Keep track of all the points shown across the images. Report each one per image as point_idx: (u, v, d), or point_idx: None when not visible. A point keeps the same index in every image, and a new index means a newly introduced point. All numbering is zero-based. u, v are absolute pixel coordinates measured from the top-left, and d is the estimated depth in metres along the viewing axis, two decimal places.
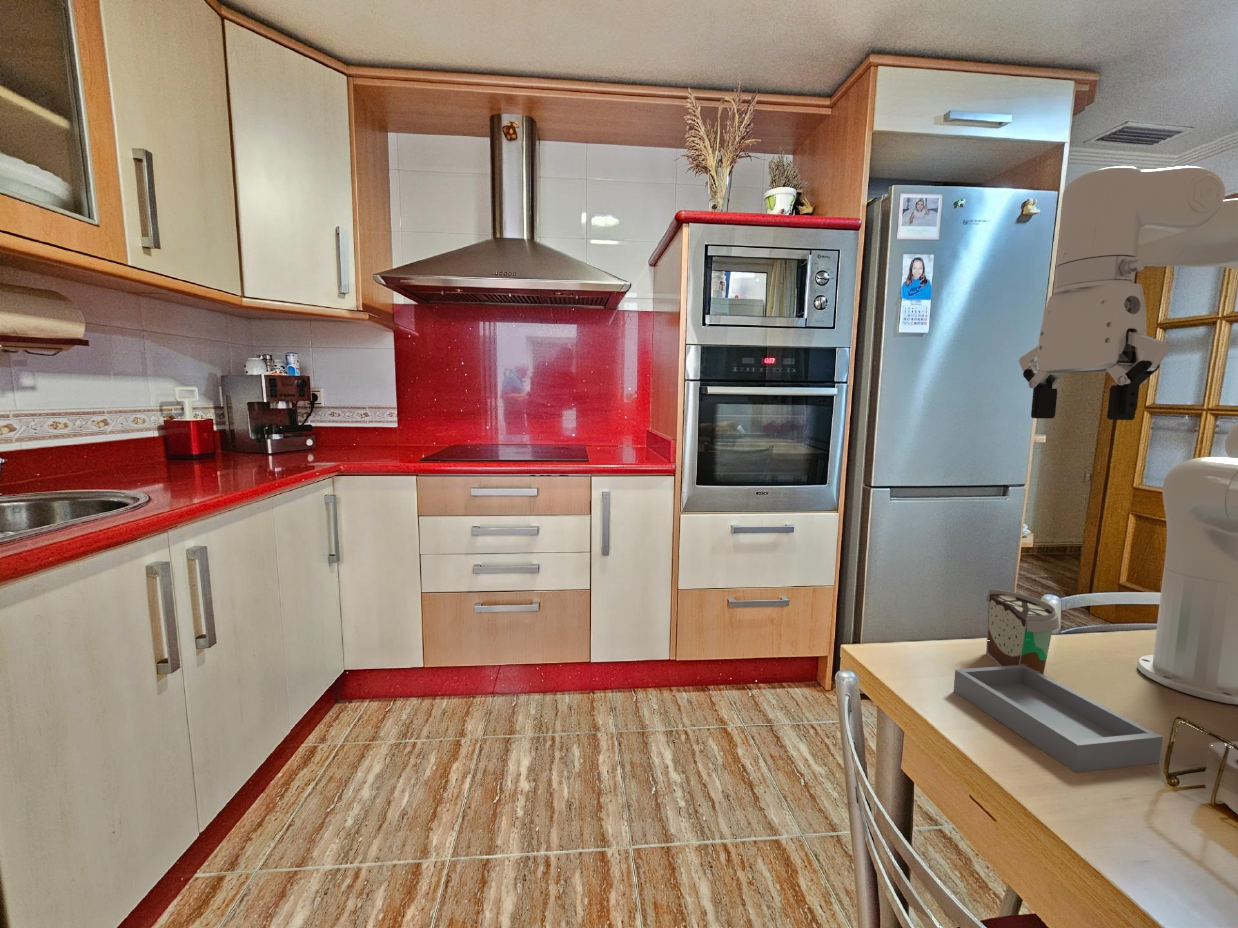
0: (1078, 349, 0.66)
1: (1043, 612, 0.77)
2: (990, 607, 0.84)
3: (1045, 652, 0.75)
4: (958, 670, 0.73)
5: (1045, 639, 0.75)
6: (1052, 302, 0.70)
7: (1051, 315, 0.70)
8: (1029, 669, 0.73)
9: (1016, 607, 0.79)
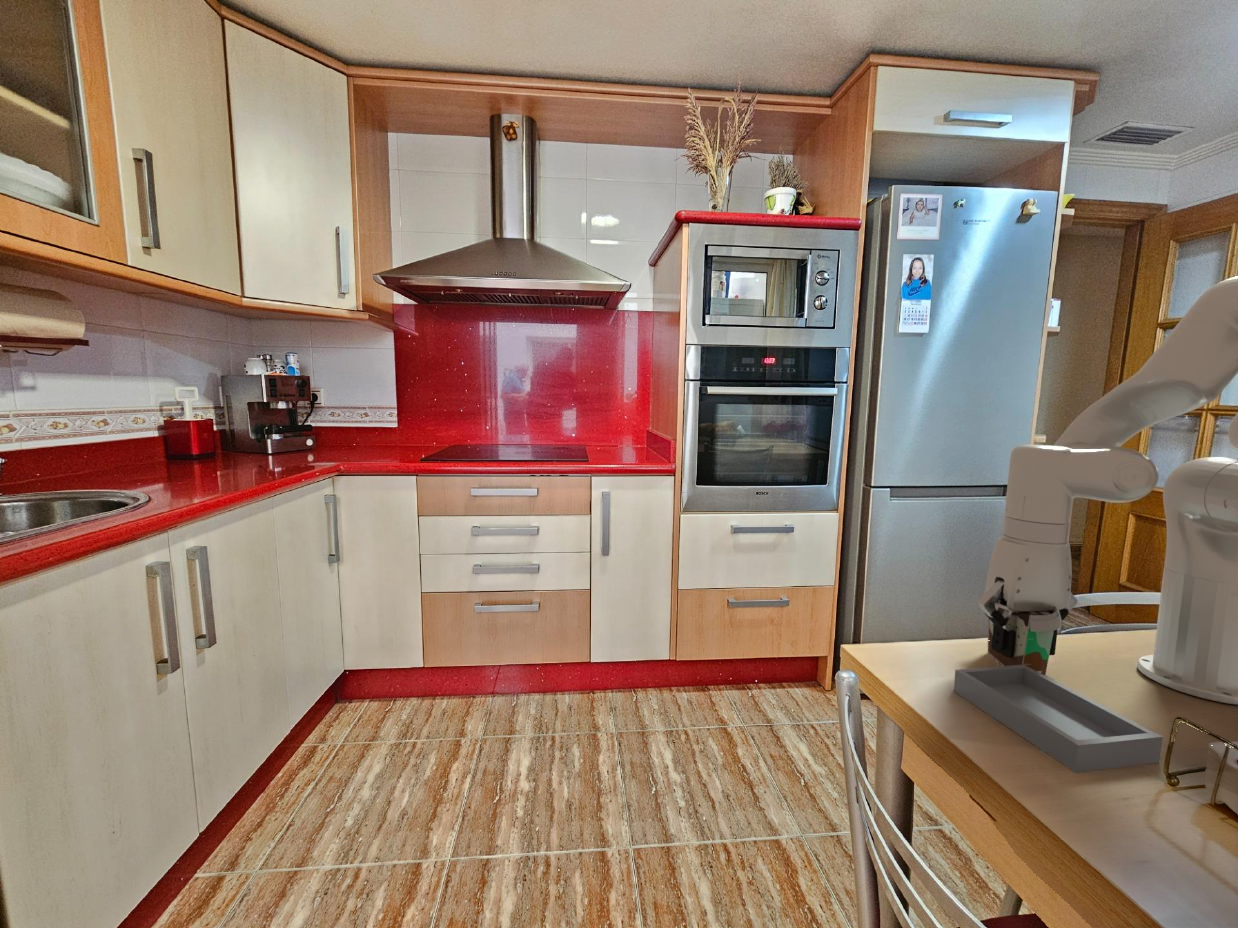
0: (1050, 595, 0.76)
1: (1045, 612, 0.77)
2: None
3: (1047, 651, 0.76)
4: (958, 670, 0.73)
5: (1048, 638, 0.75)
6: (1029, 551, 0.75)
7: (1029, 563, 0.75)
8: (1029, 669, 0.73)
9: None
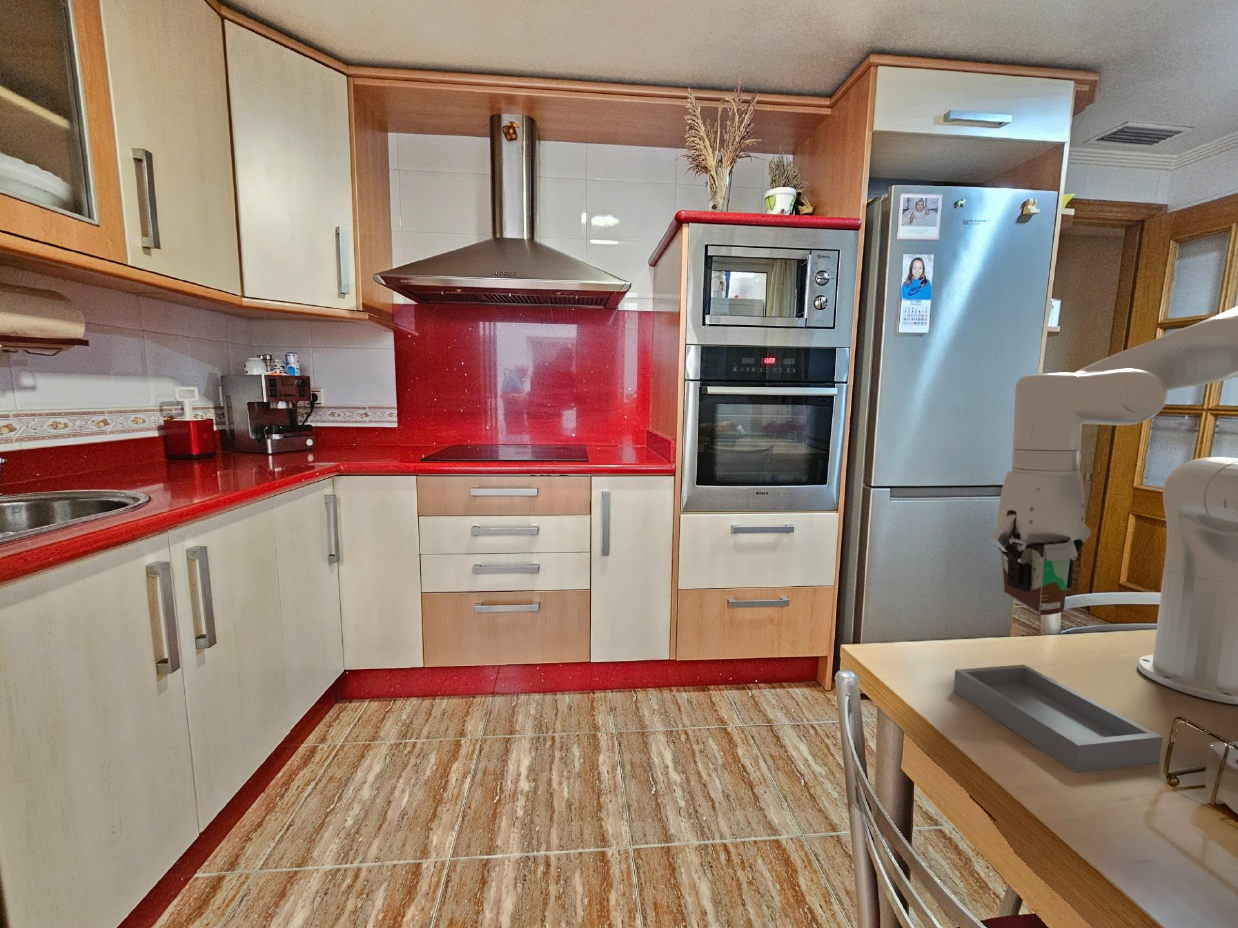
0: (1063, 525, 0.75)
1: (1059, 543, 0.76)
2: None
3: (1065, 582, 0.74)
4: (958, 670, 0.73)
5: (1065, 568, 0.74)
6: (1040, 481, 0.74)
7: (1041, 492, 0.74)
8: (1029, 669, 0.73)
9: None
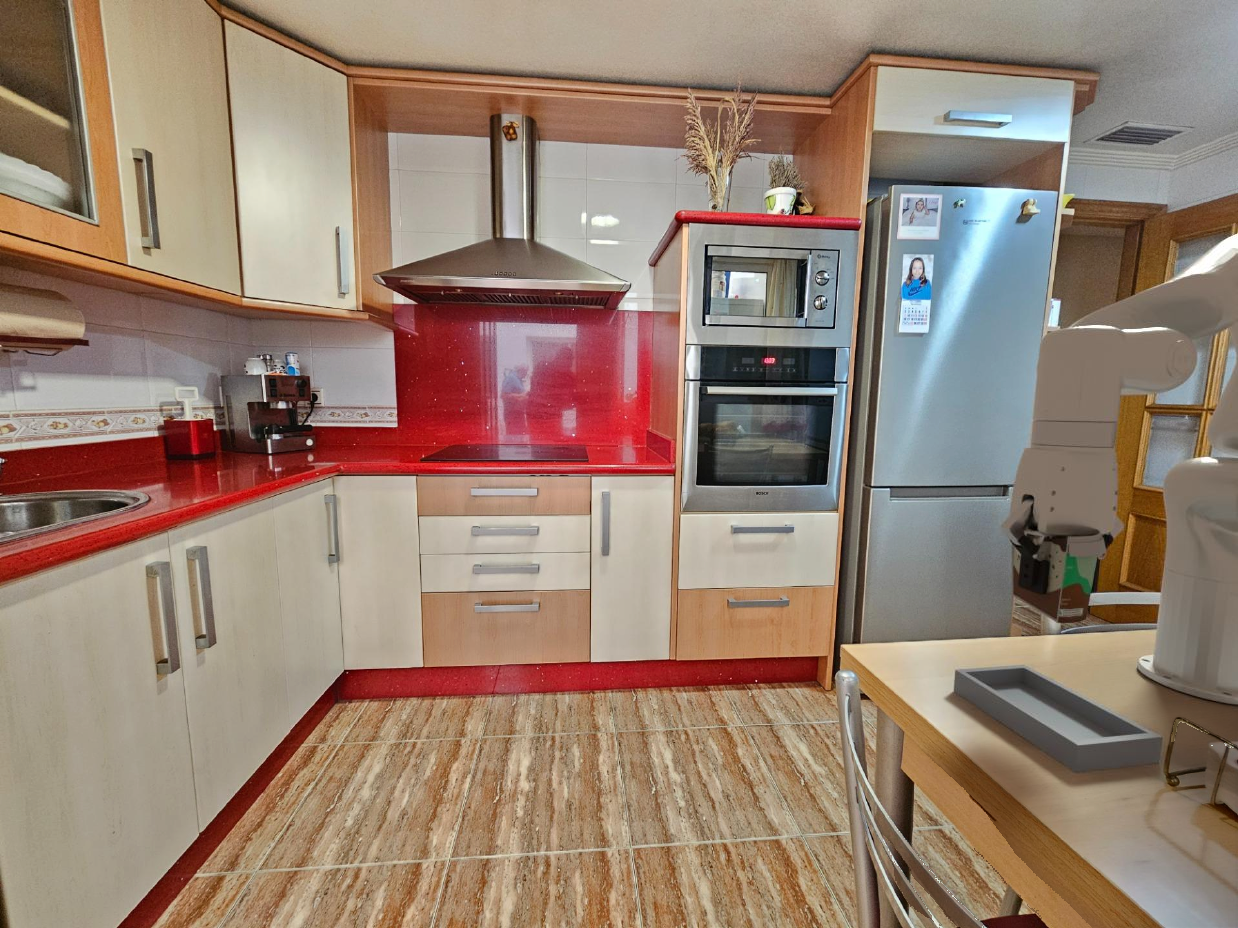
0: (1091, 515, 0.61)
1: None
2: None
3: (1090, 584, 0.61)
4: (958, 670, 0.73)
5: (1091, 566, 0.60)
6: (1065, 459, 0.60)
7: (1066, 473, 0.60)
8: (1029, 669, 0.73)
9: None
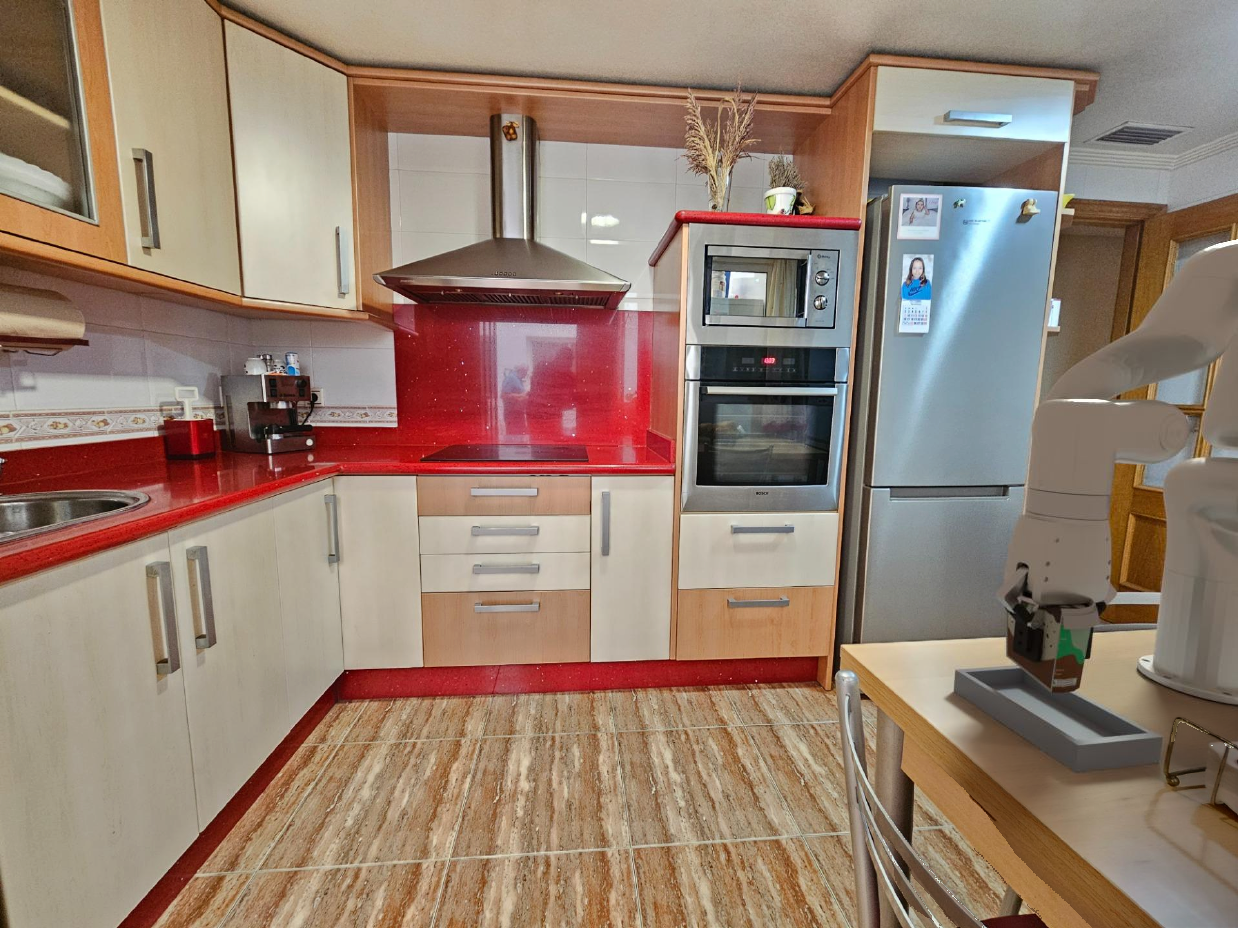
0: (1085, 585, 0.62)
1: None
2: None
3: (1084, 654, 0.61)
4: (958, 670, 0.73)
5: (1085, 637, 0.60)
6: (1059, 530, 0.61)
7: (1060, 544, 0.61)
8: None
9: None
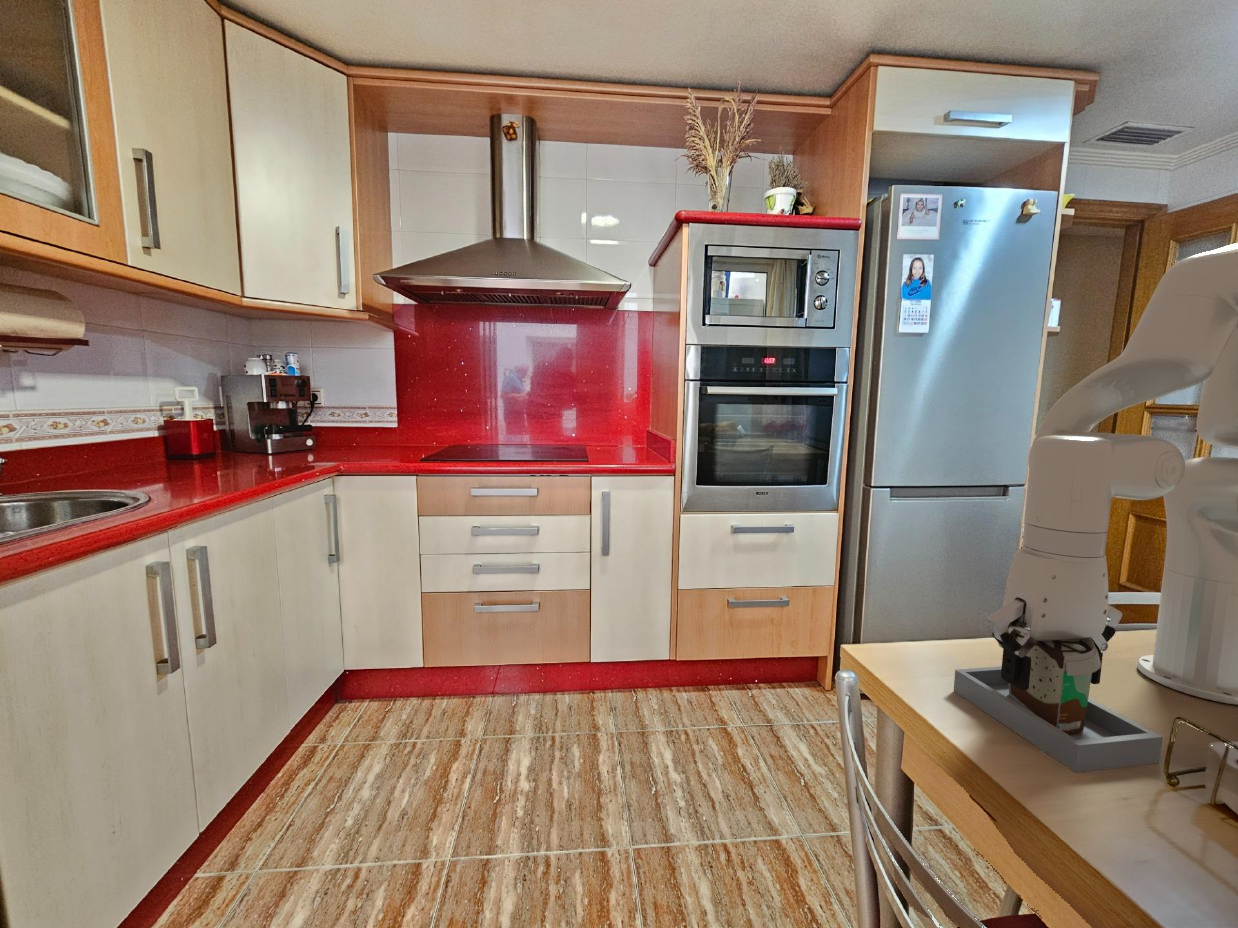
0: (1082, 620, 0.62)
1: (1079, 646, 0.63)
2: None
3: (1087, 696, 0.62)
4: (958, 670, 0.73)
5: (1087, 681, 0.61)
6: (1056, 567, 0.61)
7: (1057, 581, 0.61)
8: None
9: (1046, 641, 0.65)
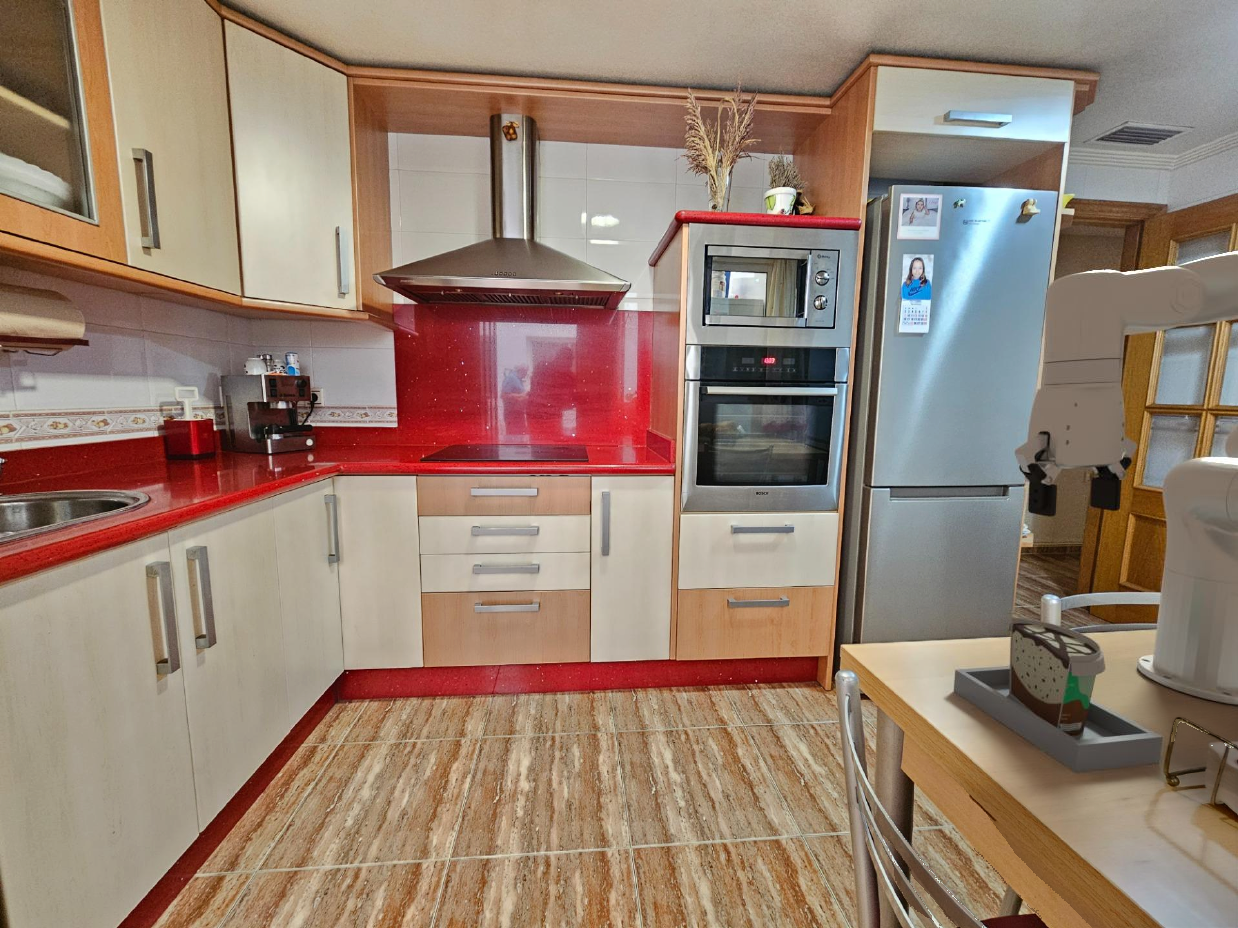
0: (1102, 446, 0.67)
1: (1084, 649, 0.63)
2: (1014, 639, 0.70)
3: (1089, 698, 0.62)
4: (958, 670, 0.73)
5: (1091, 683, 0.61)
6: (1077, 395, 0.65)
7: (1079, 408, 0.65)
8: None
9: (1051, 641, 0.65)
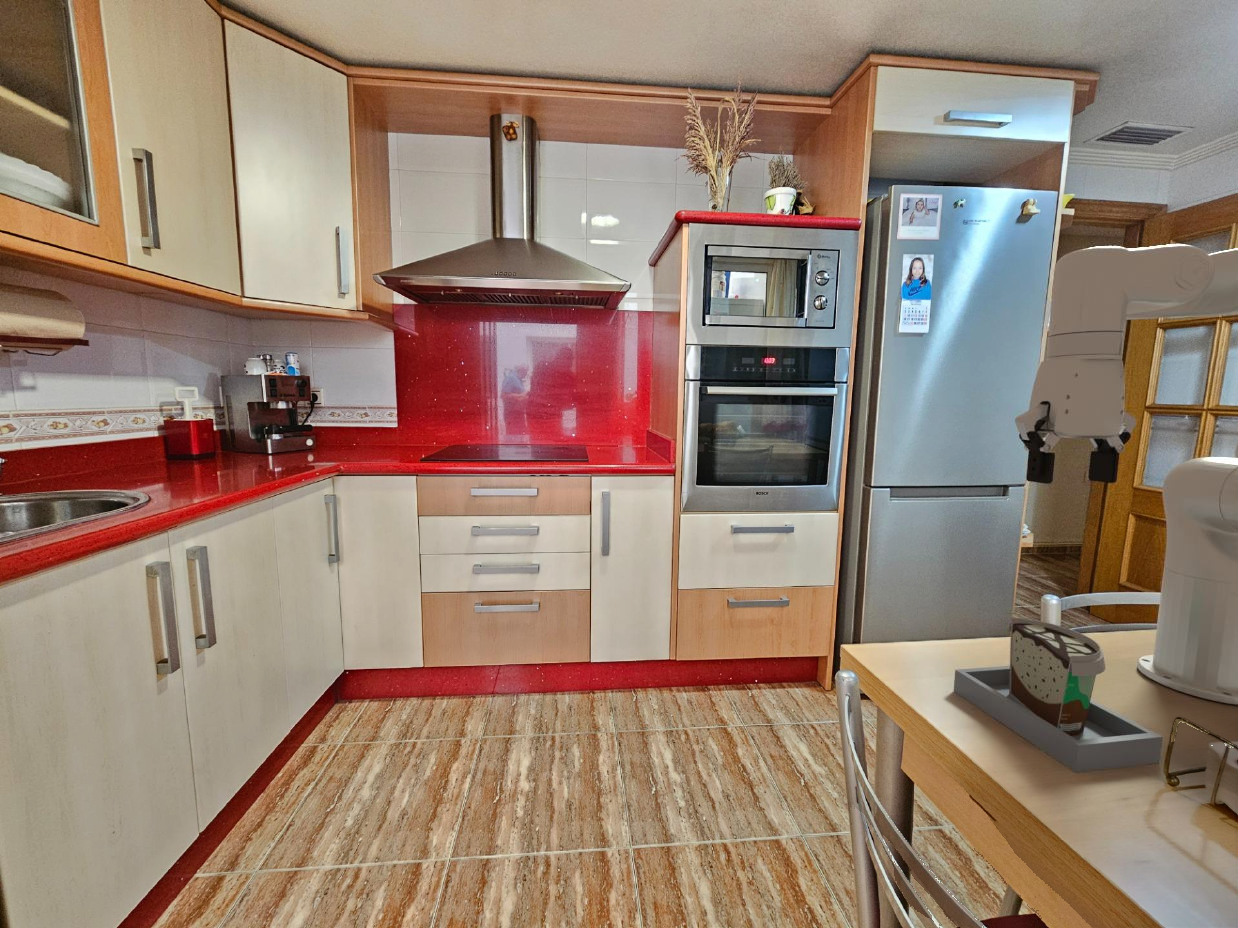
0: (1101, 418, 0.69)
1: (1084, 649, 0.63)
2: (1014, 639, 0.70)
3: (1089, 698, 0.62)
4: (958, 670, 0.73)
5: (1091, 683, 0.61)
6: (1078, 366, 0.67)
7: (1079, 379, 0.68)
8: None
9: (1051, 641, 0.65)
